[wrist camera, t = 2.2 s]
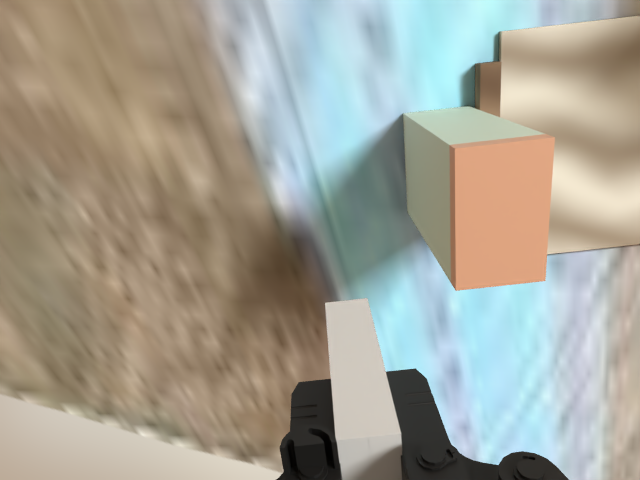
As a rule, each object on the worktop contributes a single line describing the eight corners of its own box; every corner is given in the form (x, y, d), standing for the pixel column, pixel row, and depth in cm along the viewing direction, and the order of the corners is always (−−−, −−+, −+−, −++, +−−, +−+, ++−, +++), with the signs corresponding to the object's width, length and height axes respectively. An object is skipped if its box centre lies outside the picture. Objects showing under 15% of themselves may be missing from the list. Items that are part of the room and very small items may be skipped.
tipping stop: (475, 34, 36) (481, 34, 35) (721, 6, 35) (734, 4, 34) (473, 260, 42) (478, 266, 41) (680, 237, 42) (691, 242, 41)
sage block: (402, 113, 38) (454, 148, 25) (468, 105, 38) (554, 137, 25) (407, 212, 41) (455, 290, 28) (467, 205, 40) (545, 280, 27)
